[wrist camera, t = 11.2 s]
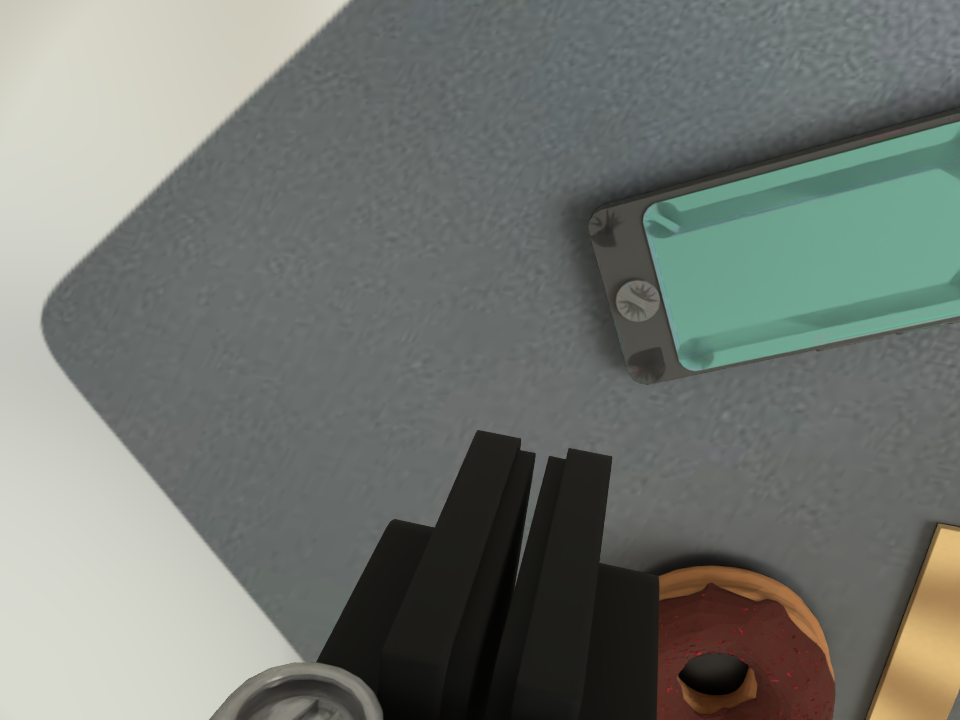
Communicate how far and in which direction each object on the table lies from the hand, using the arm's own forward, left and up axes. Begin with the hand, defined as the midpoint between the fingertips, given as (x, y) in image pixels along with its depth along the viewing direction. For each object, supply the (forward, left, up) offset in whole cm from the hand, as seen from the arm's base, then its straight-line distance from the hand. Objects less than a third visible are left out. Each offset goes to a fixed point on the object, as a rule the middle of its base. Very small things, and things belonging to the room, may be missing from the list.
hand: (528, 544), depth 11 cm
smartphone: (+7, 0, -24) cm, 25 cm away
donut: (+12, -17, -24) cm, 32 cm away
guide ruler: (+20, -15, -24) cm, 35 cm away
